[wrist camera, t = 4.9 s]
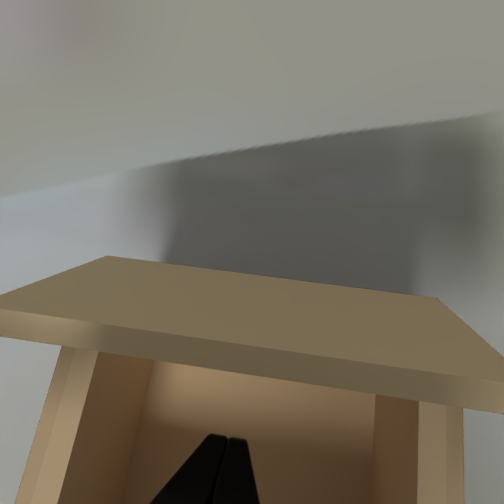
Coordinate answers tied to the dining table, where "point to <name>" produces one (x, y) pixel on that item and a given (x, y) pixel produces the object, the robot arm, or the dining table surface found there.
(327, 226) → the dining table surface
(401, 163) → the dining table surface
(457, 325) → the flap
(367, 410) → the carton
